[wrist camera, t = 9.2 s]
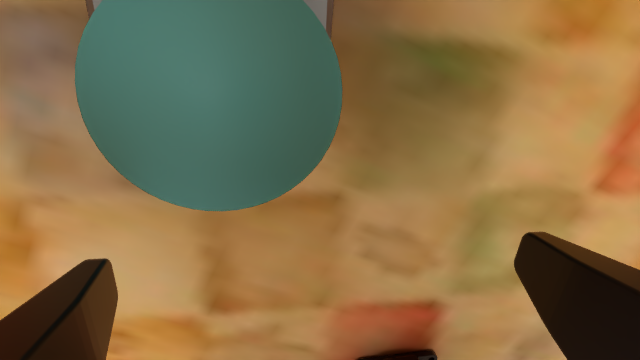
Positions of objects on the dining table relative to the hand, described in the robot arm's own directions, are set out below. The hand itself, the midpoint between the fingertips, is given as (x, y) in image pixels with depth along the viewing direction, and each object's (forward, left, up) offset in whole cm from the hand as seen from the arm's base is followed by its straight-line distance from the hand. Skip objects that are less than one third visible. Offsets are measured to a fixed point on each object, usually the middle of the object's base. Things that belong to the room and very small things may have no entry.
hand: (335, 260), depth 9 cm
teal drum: (+3, +2, -7) cm, 8 cm away
